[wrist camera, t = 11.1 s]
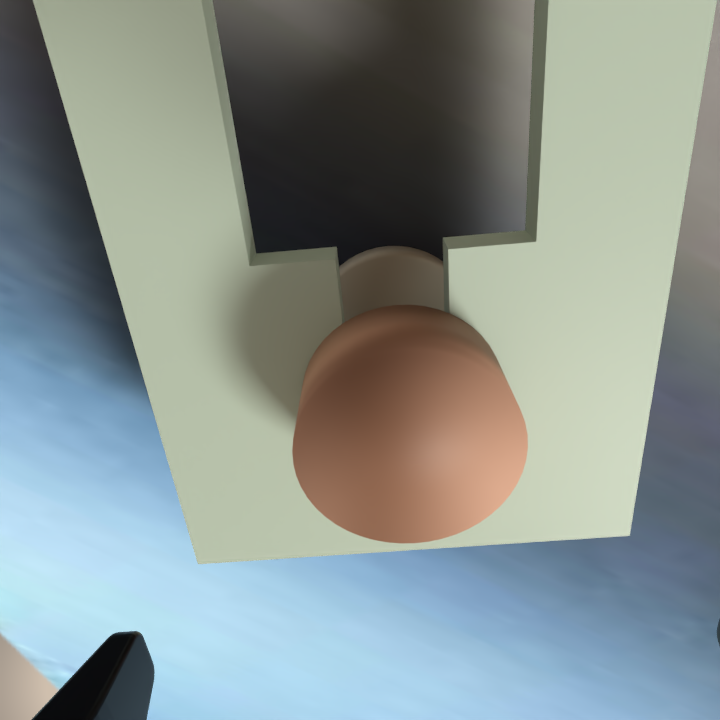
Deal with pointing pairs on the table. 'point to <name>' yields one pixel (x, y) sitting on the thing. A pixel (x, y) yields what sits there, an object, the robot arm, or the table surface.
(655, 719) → the table surface
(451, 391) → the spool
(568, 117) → the keyhole board
